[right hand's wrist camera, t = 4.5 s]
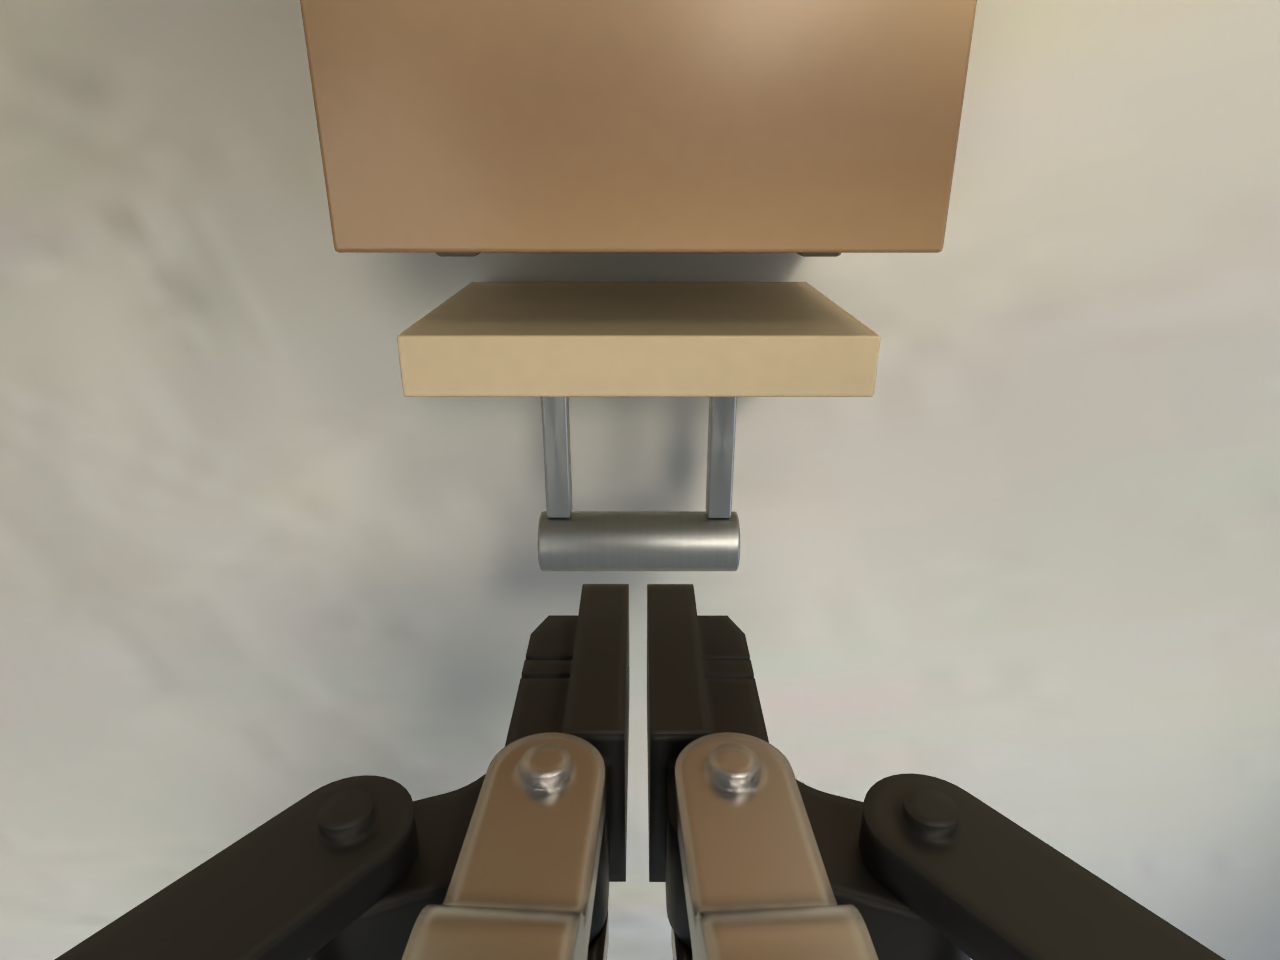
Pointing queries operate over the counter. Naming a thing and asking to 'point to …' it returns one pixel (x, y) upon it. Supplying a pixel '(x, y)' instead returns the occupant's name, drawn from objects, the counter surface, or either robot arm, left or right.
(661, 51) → the cabinet
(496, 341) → the drawer
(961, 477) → the counter surface
